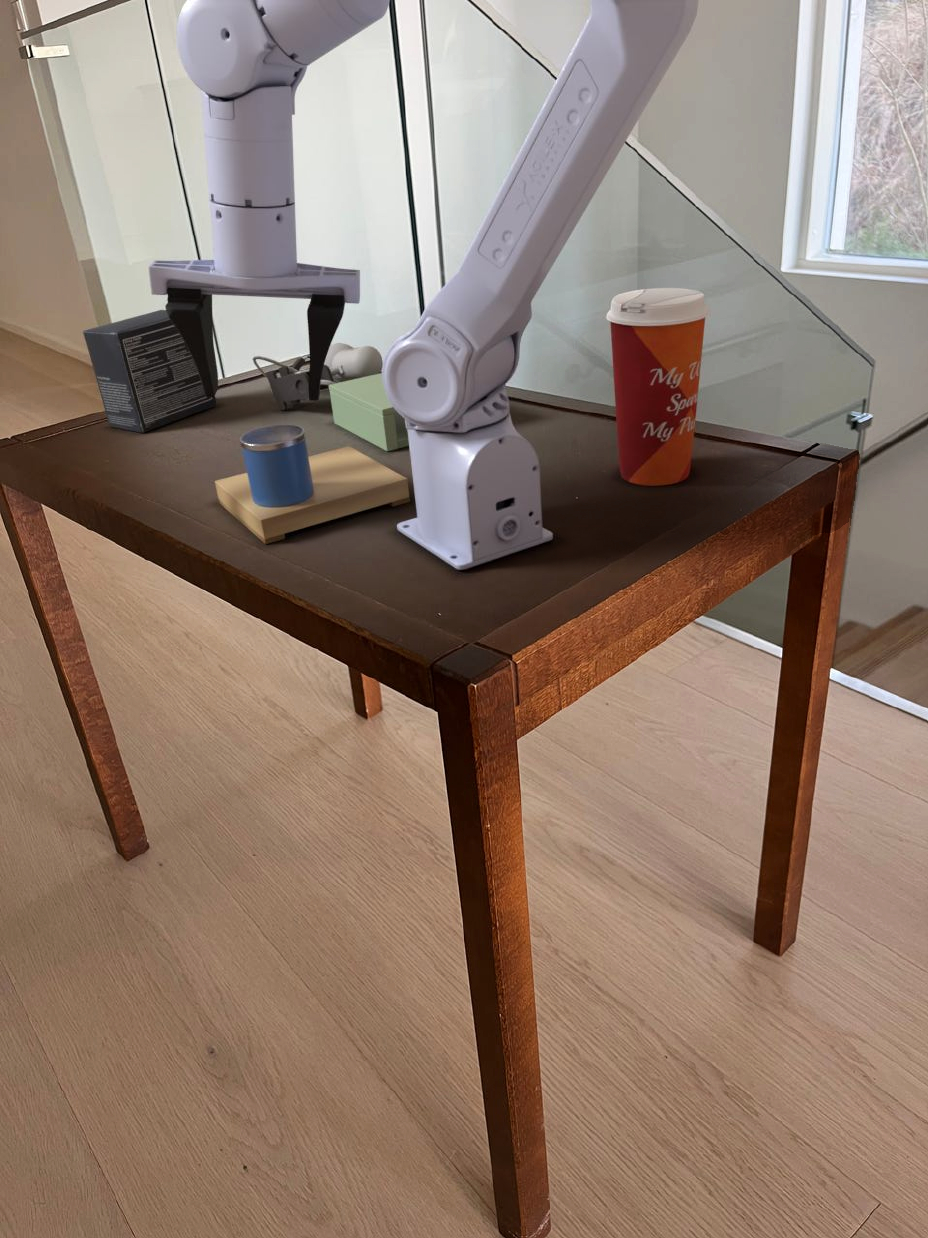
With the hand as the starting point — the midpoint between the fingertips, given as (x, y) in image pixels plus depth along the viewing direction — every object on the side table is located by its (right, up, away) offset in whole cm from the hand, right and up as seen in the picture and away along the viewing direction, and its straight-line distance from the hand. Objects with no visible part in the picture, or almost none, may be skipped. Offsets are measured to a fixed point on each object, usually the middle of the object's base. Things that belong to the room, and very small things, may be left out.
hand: (263, 394), depth 72 cm
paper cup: (+31, -5, +6) cm, 32 cm away
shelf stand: (+10, +3, +23) cm, 26 cm away
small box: (-18, +5, +33) cm, 38 cm away
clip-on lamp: (-2, +8, +36) cm, 37 cm away
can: (+1, -7, +3) cm, 8 cm away
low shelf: (+3, -7, +6) cm, 10 cm away
